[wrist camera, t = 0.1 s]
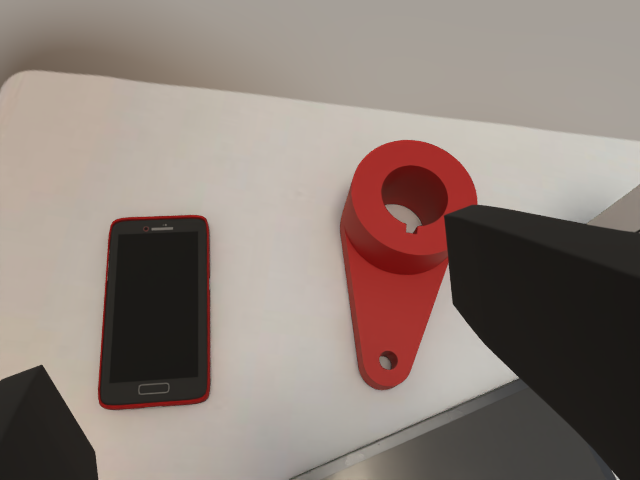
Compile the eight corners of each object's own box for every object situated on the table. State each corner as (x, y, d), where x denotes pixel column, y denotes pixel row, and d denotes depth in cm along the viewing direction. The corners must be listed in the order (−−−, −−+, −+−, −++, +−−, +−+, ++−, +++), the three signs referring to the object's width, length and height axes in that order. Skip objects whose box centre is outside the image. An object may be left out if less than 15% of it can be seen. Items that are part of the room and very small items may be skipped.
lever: (347, 173, 47) (359, 130, 41) (452, 191, 48) (479, 151, 41) (317, 379, 40) (326, 365, 34) (440, 399, 41) (470, 389, 34)
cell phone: (100, 411, 38) (96, 410, 37) (112, 222, 44) (109, 217, 43) (211, 403, 39) (209, 401, 38) (209, 218, 44) (208, 213, 43)
